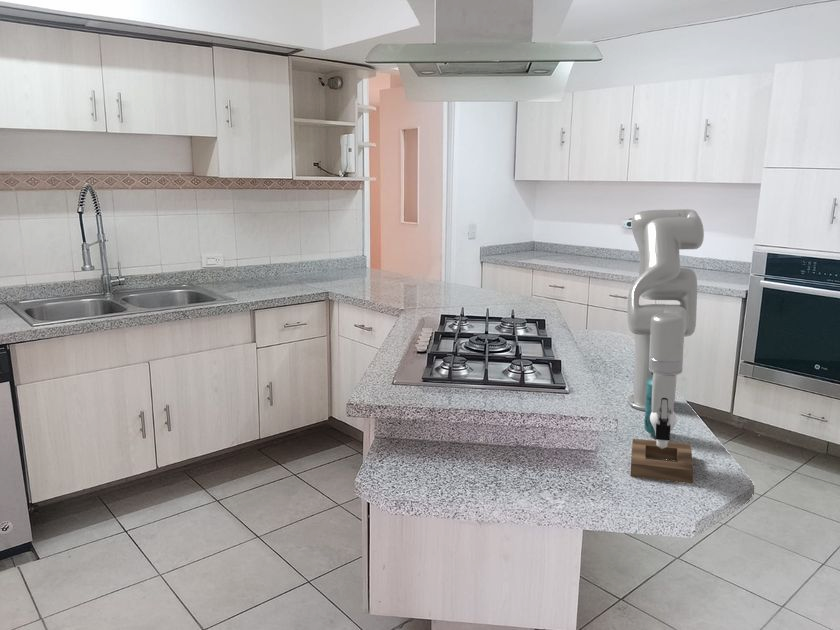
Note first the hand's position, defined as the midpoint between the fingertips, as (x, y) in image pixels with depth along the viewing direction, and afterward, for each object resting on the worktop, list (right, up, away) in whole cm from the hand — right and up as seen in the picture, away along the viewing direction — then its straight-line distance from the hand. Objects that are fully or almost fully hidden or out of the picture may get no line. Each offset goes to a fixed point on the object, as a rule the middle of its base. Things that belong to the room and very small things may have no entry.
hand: (662, 433), depth 157 cm
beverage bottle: (+6, -4, +19) cm, 20 cm away
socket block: (0, -9, +2) cm, 9 cm away
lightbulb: (0, -4, +1) cm, 4 cm away
